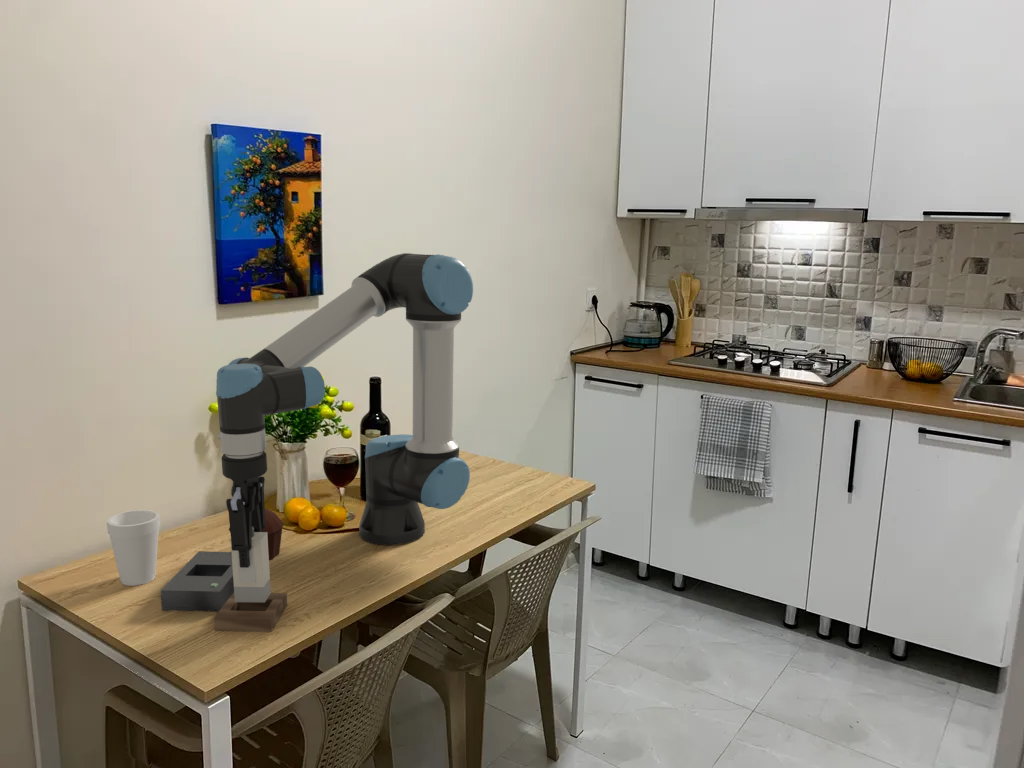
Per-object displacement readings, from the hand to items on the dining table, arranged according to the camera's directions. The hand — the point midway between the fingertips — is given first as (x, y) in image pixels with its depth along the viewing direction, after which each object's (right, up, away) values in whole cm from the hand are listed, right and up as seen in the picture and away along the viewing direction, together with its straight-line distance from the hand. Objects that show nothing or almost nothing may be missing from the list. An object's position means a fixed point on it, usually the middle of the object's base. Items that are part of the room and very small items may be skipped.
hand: (251, 576), depth 147 cm
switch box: (-12, -5, +12) cm, 18 cm away
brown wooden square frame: (0, -8, +1) cm, 8 cm away
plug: (0, -4, +1) cm, 4 cm away
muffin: (-8, -2, +29) cm, 30 cm away
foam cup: (-28, -5, +16) cm, 33 cm away
